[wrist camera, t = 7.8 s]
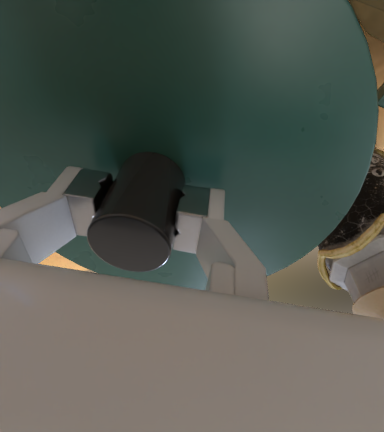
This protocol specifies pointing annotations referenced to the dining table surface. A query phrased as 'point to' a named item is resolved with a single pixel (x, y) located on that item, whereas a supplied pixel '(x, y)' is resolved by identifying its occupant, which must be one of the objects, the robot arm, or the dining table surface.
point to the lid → (189, 120)
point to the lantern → (359, 246)
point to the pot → (372, 26)
